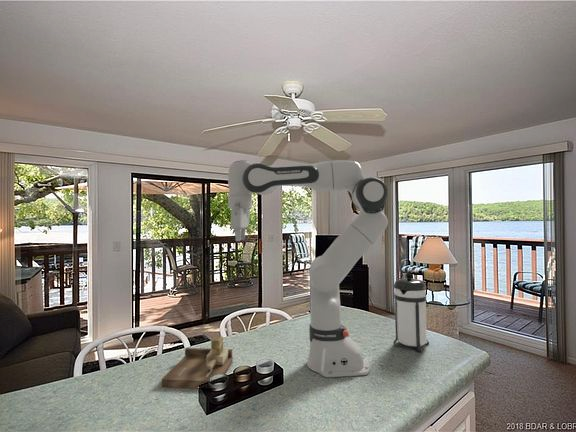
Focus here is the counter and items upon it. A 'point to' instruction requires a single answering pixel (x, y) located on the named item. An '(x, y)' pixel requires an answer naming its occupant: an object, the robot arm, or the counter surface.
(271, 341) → the counter surface
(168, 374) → the walnut board
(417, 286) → the coffee press
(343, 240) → the robot arm
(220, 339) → the marking slider
